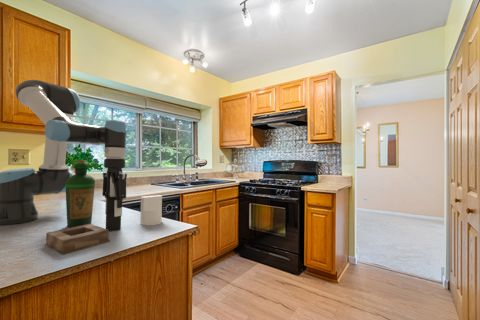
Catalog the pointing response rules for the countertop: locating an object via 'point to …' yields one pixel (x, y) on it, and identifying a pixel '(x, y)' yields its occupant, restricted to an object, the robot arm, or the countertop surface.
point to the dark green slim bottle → (112, 211)
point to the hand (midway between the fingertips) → (113, 214)
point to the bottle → (79, 196)
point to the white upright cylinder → (151, 210)
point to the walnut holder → (76, 238)
